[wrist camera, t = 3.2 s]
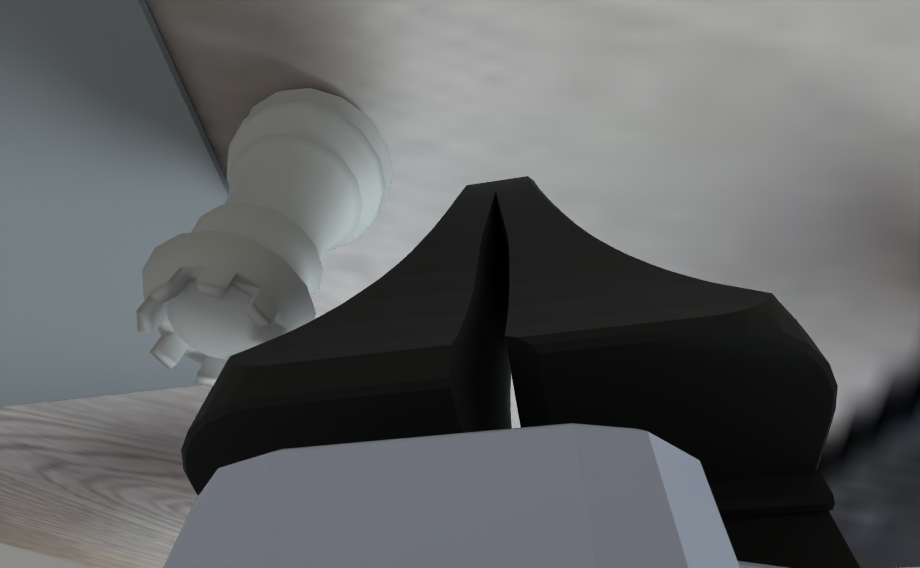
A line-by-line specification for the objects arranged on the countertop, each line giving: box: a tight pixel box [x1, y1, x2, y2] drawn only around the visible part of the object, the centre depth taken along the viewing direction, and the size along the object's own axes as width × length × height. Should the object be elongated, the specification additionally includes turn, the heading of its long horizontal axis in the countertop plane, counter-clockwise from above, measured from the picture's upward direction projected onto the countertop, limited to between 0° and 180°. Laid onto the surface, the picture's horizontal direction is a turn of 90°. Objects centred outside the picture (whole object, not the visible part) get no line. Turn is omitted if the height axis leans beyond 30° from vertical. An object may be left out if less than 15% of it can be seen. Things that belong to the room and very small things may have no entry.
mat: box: [0, 0, 229, 407], centre depth 18 cm, size 16×14×1 cm
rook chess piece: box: [136, 88, 393, 386], centre depth 13 cm, size 4×4×8 cm
